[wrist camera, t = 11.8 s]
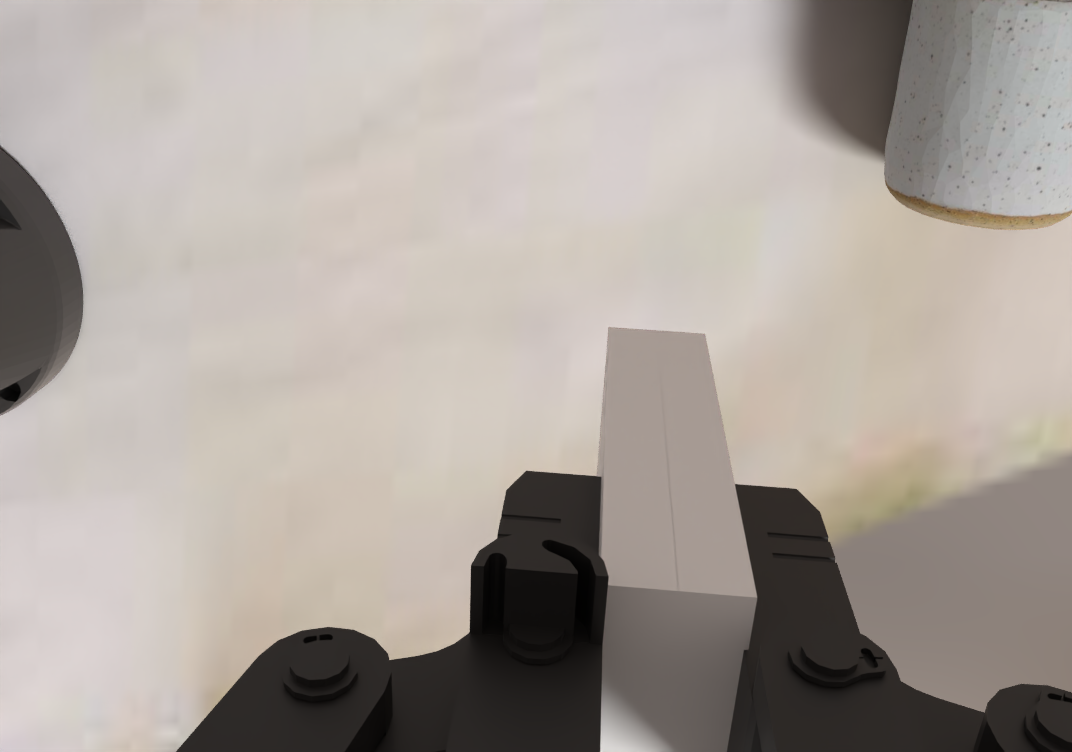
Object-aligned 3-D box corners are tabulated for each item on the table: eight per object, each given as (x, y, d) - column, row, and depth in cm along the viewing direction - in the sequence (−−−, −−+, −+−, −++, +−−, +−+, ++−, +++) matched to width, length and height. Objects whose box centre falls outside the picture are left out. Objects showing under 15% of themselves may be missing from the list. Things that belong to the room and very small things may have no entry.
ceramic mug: (858, 181, 41) (904, 234, 34) (894, -31, 38) (954, -19, 31) (1120, 194, 41) (1221, 252, 34) (1181, -19, 37) (1308, -4, 30)
